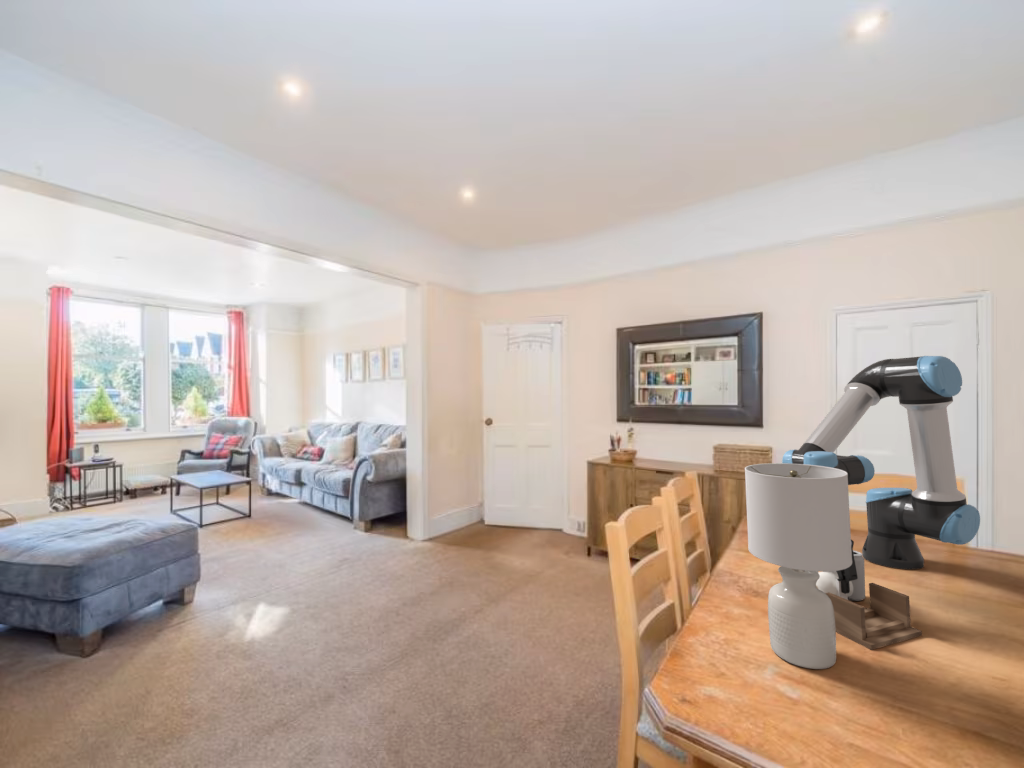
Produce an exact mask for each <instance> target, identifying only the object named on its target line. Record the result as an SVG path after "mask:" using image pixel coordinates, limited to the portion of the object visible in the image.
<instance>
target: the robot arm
mask: <svg viewBox="0 0 1024 768" xmlns="http://www.w3.org/2000/svg"><path fill="white" fill-rule="evenodd" d="M958 367H959V366H958V365H956V363H955V362H954V361H952V360H951V358H948V357H946V356H943V355H922V356H921V355H920V356H912V357H900V358H886V359H882V360H878V361H877V362H874V363H872V364H870V365H868V366H866V367H864V368H863V369H862V370H860V371H859V372H858V373H857V374H856V375H854V376H853V377H852V378H851V379H850V380H849V382H847V384H846V385H845V386H844V388H843V390H844V391H843V392H844V393H843V394H842V395H841V397H840V398H839V399H838V401H837V402H836V403H835V404H834V405H833V407H832V408H831V409H830V410H829V412H828V413H826V416H824V417H823V419H822V420H821V422H820V423H819V424H818V425H817V427H816V428H815V429H814V430H813V431H812V432H811V434H810V435H809V437H808V438H807V439H806V440H805V441H804V442H803V444H802V445H801V446H800V448H799V449H789V450H787V451H785V453H784V454H783V456H782V458H781V459H782V461H781V463H788V464H807V465H817V466H825V467H831V468H836V469H840V470H843V471H845V472H847V473H848V486H853V485H862V484H864V483H868V482H870V481H871V480H872V479H873V478H874V477H875V476H874V475H875V466H874V464H873V463H872V461H871V460H870V459H869V458H868V457H865V456H863V455H859V454H857V455H854V454H851V455H839V454H836V453H835V452H836V450H837V449H838V447H840V445H841V444H842V443H843V441H844V440H845V439H846V438H847V437H848V435H849V433H851V431H853V429H854V427H856V426H857V424H858V423H859V421H860V420H861V419H862V417H863V416H864V415H865V414H866V413H867V411H868V410H869V409H870V407H873V406H876V405H878V404H879V403H880V401H881V400H882V399H885V398H889V397H894V398H895V397H896V398H897V397H898V401H899V402H898V403H899V405H900V406H902V407H904V408H905V409H906V413H907V421H908V427H909V434H910V435H909V436H910V442H911V443H910V444H911V450H912V456H913V465H914V473H915V480H916V486H917V487H916V488H915V490H912V489H911V488H905V487H875V488H871V489H868V490H867V492H866V495H865V496H866V497H865V504H866V520H867V521H866V522H867V535H866V538H865V541H864V544H863V547H862V548H861V553H862V557H863V558H864V560H866V561H868V562H870V563H872V564H876V565H879V566H884V567H886V568H893V569H899V570H919V569H923V568H924V567H925V559H924V556H923V554H922V552H921V550H920V547H919V545H918V543H917V540H916V536H919V537H920V536H921V537H925V538H929V539H931V540H935V541H939V542H942V543H945V544H946V543H948V544H954V545H957V546H962V545H966V544H969V543H970V542H972V540H974V538H975V537H976V536H977V533H978V531H979V529H980V526H981V513H980V512H979V510H978V509H977V507H975V506H974V505H971V504H967V496H966V495H965V494H964V493H963V492H961V491H960V490H959V489H958V484H957V475H956V469H955V463H954V462H955V461H954V454H953V446H952V440H951V438H952V437H951V430H950V422H949V416H948V409H947V408H948V407H949V405H951V404H952V403H953V402H954V398H953V397H955V396H957V395H959V393H960V392H961V390H962V386H963V377H962V373H961V371H960V369H959V368H958ZM854 544H855V542H854V539H851V551H852V565H851V566H850V567H848V568H846V569H843V570H838V571H836V572H837V574H838V577H839V579H836V590H837V596H839V597H842V598H844V599H846V600H848V596H847V593H849V592H850V585H849V581H852V580H856V579H858V577H857V571H856V565H855V560H854V554H853V550H854ZM816 572H819V571H816Z"/></svg>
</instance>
